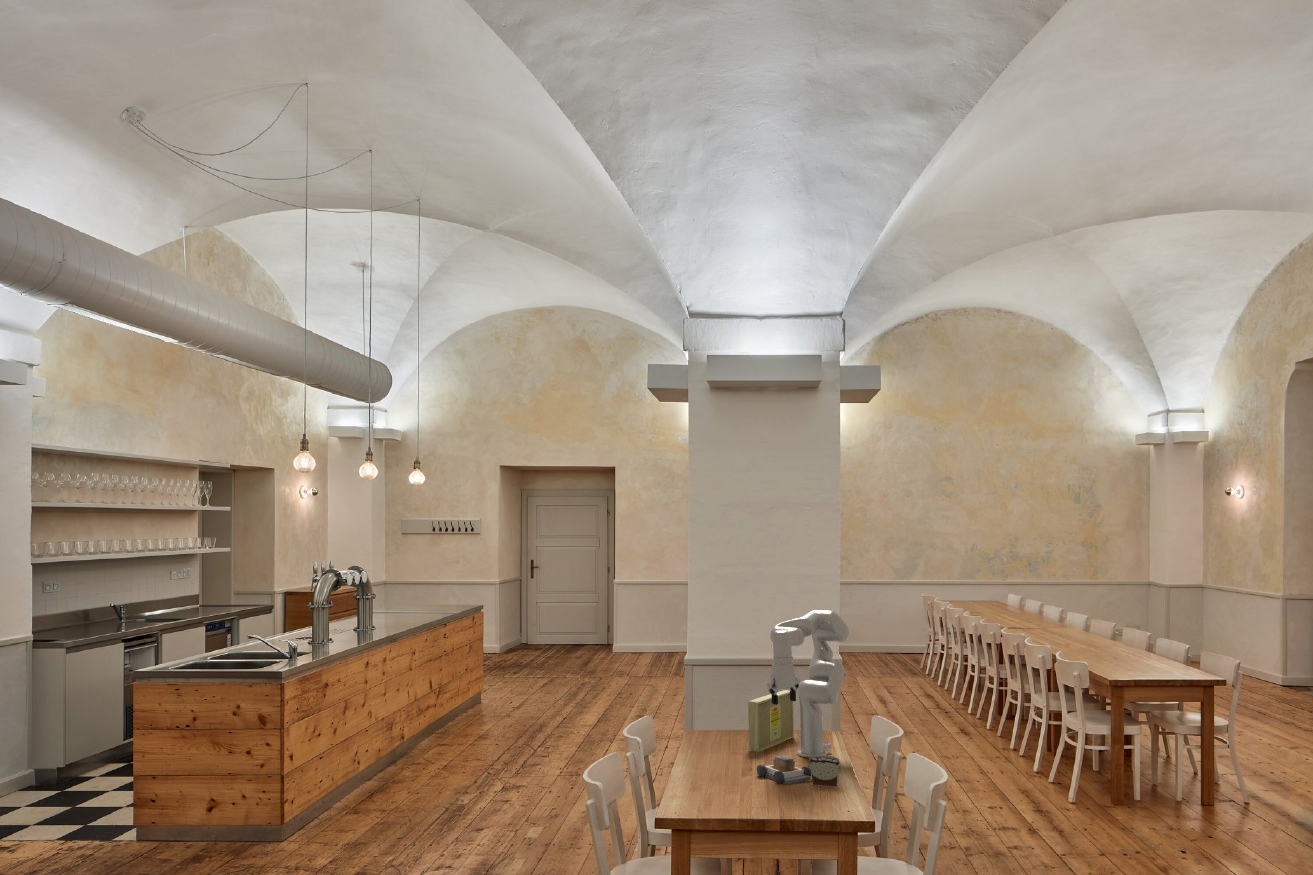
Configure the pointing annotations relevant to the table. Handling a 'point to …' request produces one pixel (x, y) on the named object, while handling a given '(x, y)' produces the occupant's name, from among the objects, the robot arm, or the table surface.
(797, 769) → the chassis
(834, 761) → the food container
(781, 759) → the grey block on wood
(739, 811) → the table surface
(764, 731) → the flat product box
